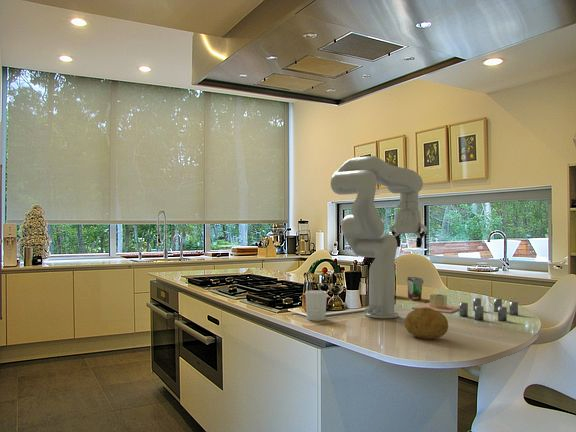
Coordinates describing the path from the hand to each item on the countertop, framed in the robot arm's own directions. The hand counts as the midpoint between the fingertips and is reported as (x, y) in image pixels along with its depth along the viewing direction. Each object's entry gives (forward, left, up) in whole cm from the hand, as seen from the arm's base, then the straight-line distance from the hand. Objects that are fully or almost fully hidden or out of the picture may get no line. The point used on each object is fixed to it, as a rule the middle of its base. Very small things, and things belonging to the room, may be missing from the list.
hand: (408, 247), depth 201 cm
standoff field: (+5, -31, -26) cm, 41 cm away
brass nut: (+7, -10, -25) cm, 28 cm away
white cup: (-46, +15, -26) cm, 55 cm away
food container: (+26, +8, -26) cm, 37 cm away
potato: (-48, -28, -26) cm, 61 cm away
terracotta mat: (+7, -10, -26) cm, 28 cm away
